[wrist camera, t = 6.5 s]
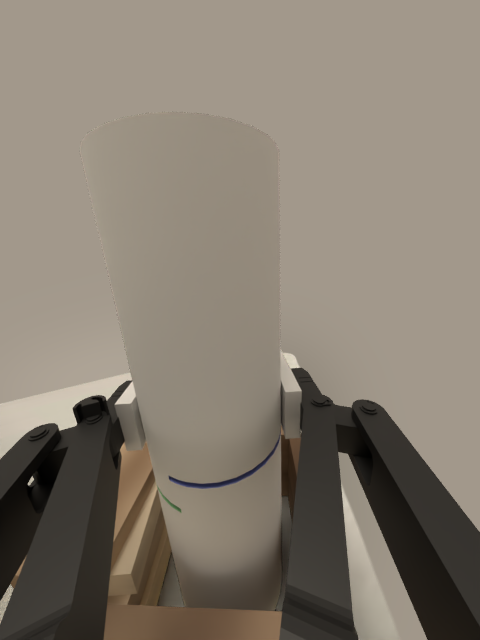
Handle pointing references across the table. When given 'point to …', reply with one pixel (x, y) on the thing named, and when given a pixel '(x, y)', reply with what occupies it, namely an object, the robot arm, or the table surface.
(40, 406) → the table surface
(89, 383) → the table surface
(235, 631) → the offcut rack
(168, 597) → the table surface
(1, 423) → the table surface
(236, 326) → the cylindrical container
